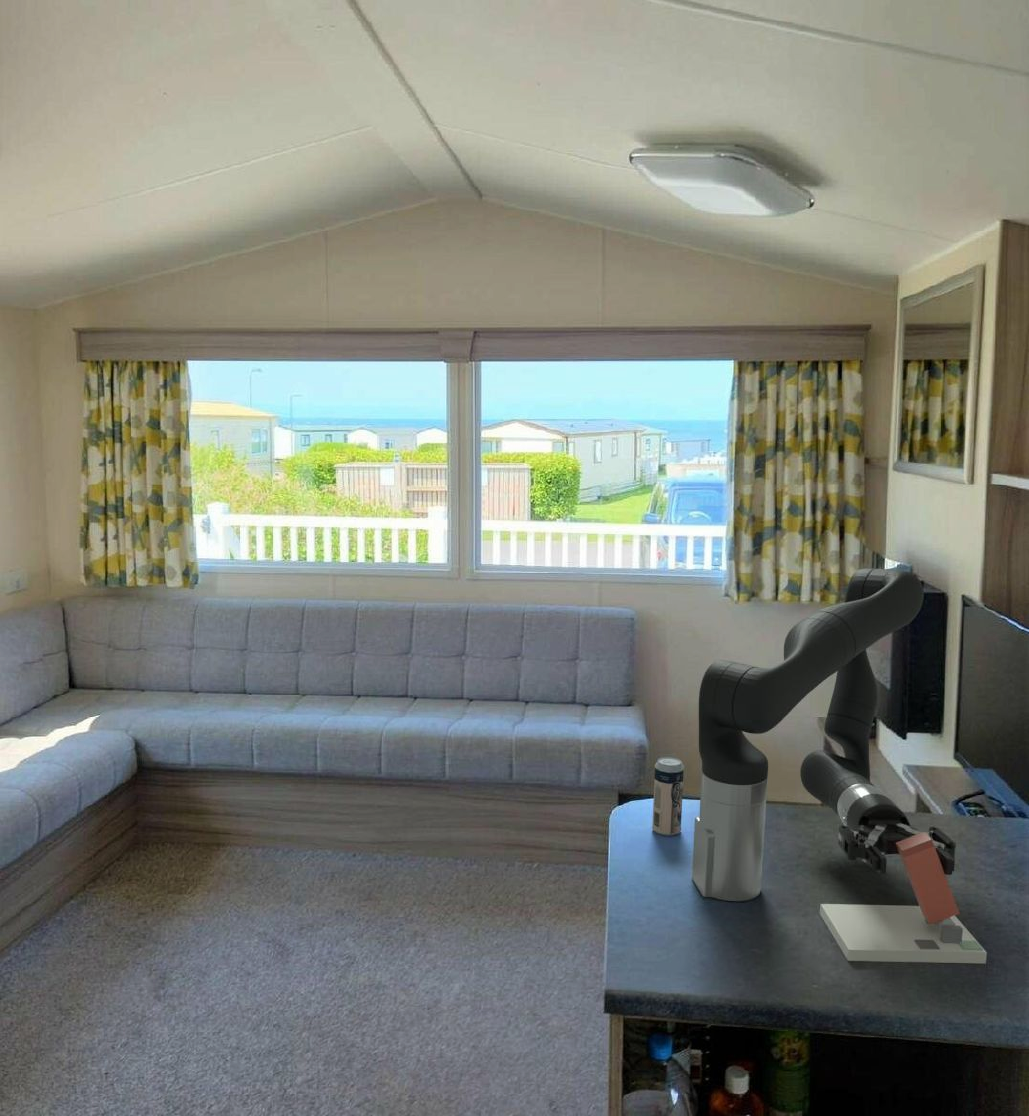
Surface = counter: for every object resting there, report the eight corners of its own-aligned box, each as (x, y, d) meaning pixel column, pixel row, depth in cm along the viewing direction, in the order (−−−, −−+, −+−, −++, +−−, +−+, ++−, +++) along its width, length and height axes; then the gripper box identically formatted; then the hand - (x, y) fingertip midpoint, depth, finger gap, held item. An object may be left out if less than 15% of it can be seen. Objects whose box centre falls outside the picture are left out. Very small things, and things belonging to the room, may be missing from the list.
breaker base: (847, 960, 129) (849, 934, 129) (819, 914, 141) (821, 890, 141) (985, 963, 129) (988, 937, 129) (946, 916, 141) (948, 892, 141)
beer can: (680, 838, 165) (684, 767, 163) (650, 835, 166) (653, 764, 164) (681, 827, 170) (685, 757, 168) (652, 824, 171) (655, 755, 169)
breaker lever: (936, 938, 133) (903, 852, 131) (926, 926, 136) (894, 841, 134) (965, 927, 132) (933, 840, 131) (955, 915, 136) (923, 830, 134)
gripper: (823, 792, 146) (863, 838, 130) (922, 793, 146) (974, 840, 130) (820, 841, 147) (859, 894, 131) (918, 843, 147) (969, 896, 131)
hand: (916, 867), depth 131 cm, fingers open, 8 cm apart
